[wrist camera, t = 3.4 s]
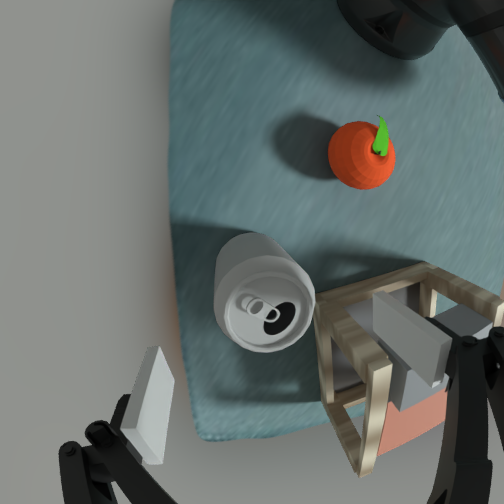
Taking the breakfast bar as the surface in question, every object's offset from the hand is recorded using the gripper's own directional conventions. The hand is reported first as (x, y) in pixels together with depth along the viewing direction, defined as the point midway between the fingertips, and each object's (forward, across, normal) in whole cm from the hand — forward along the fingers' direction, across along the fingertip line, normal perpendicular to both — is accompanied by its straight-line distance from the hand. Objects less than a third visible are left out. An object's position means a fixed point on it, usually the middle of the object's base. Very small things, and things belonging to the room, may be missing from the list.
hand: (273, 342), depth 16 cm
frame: (+15, +15, -14) cm, 25 cm away
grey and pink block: (+4, +15, -14) cm, 21 cm away
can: (+15, 0, 0) cm, 15 cm away
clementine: (+15, +14, +10) cm, 23 cm away
